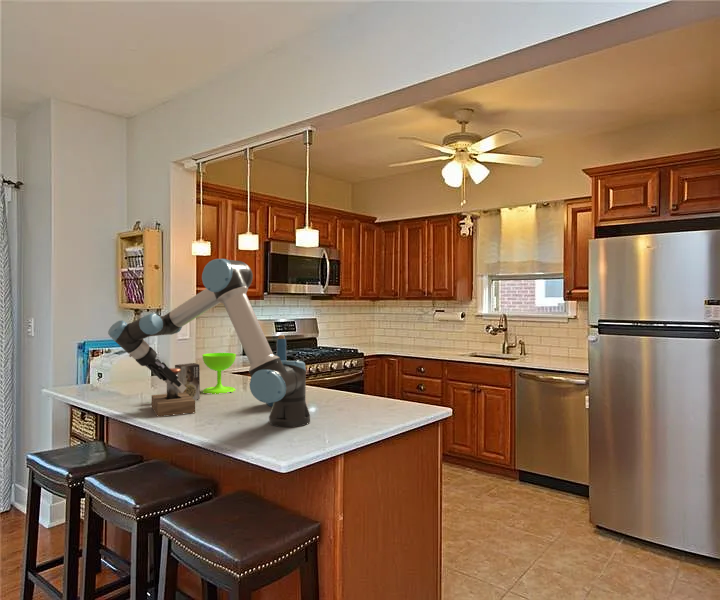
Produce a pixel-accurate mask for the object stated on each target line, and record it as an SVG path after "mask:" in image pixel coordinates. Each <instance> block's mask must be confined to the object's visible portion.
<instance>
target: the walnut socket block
mask: <svg viewBox="0 0 720 600" xmlns="http://www.w3.org/2000/svg"><path fill="white" fill-rule="evenodd" d="M151 408H152V410H153V411H154V413H155V414H156V415H158V416H160V417H165V416H164V415H170V416H174V415H173V414H180V415H184V414H183V413H190V414H194V413H193V412H195V413H196V400H194V399H193V398H192V397H191V396H190V395H188V394H187V393H186V392H184V393H178V399H169V400H167V393H161V394H160V393H159V394H152V395H151ZM158 416H157V417H158Z"/></svg>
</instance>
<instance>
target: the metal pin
mask: <svg viewBox="0 0 720 600" xmlns="http://www.w3.org/2000/svg"><path fill="white" fill-rule="evenodd" d="M168 368H169V367H168ZM169 369H170V370H171V371H172V372H173V373H174V374H175V375H176V376H178V372H181V369H179V368H175V367H174V368H173V367H170V368H169ZM170 383H171V381H170V380H168V379H167V383H166V394H167V400H169V399H178V389H177V388H176V387H175V386H174V385H173V384H170Z"/></svg>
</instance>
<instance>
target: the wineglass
mask: <svg viewBox="0 0 720 600" xmlns="http://www.w3.org/2000/svg"><path fill="white" fill-rule="evenodd" d="M201 356H202V360H203V363H204V365H205V366H206V367H207V368H209V369H210V370H211V371H216V375H217V376H216V385H215V386H208V387H206V388H204V389H203V390H202V391H203V392H204V393H203V392H202V393H203V394H205V393H212V394H211V395H220V394H219V393H227V392H232V393H234V392H233V391H235V390H236V388H234V387H233V386H224V385H223V384H222V371H225V370H228V369H229V368H230V367H232V366H233V364H234V363H235V361H236V357H237V354H236V353H235V352H212V353H211V352H209V353H203V354H202V355H201ZM235 392H236V391H235ZM215 393H216V394H215ZM227 394H228V393H227Z"/></svg>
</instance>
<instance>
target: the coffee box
mask: <svg viewBox="0 0 720 600" xmlns="http://www.w3.org/2000/svg"><path fill="white" fill-rule="evenodd" d="M174 368H179V369H181V372H178V380H179V381H180V382H181V383H182V384H183V385H184V386H185V387H186V389H185V390H184V392H186V393H187V394H188V395H190V396H191V397H192V398H193V399H194V400H195V401H198V400H197V399H201V387H200V386H201V385H200V383H201V382H200V363H195V362H194V363H193V362H189V363H180V364H174ZM184 392H183V393H184ZM178 393H181V392H180V391H179V390H178Z"/></svg>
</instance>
